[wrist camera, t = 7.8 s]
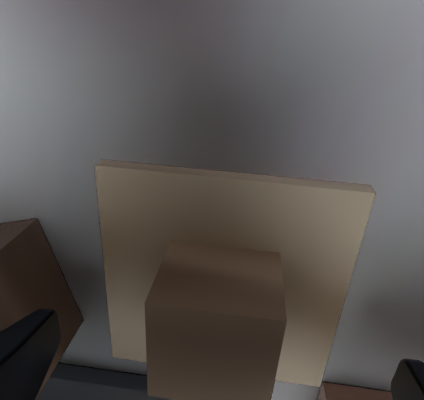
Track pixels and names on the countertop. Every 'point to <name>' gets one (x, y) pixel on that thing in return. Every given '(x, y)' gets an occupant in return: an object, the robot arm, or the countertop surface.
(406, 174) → the countertop surface
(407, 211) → the countertop surface
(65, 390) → the grey open square bin
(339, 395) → the pot
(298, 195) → the lid
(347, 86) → the countertop surface
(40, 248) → the walnut block
